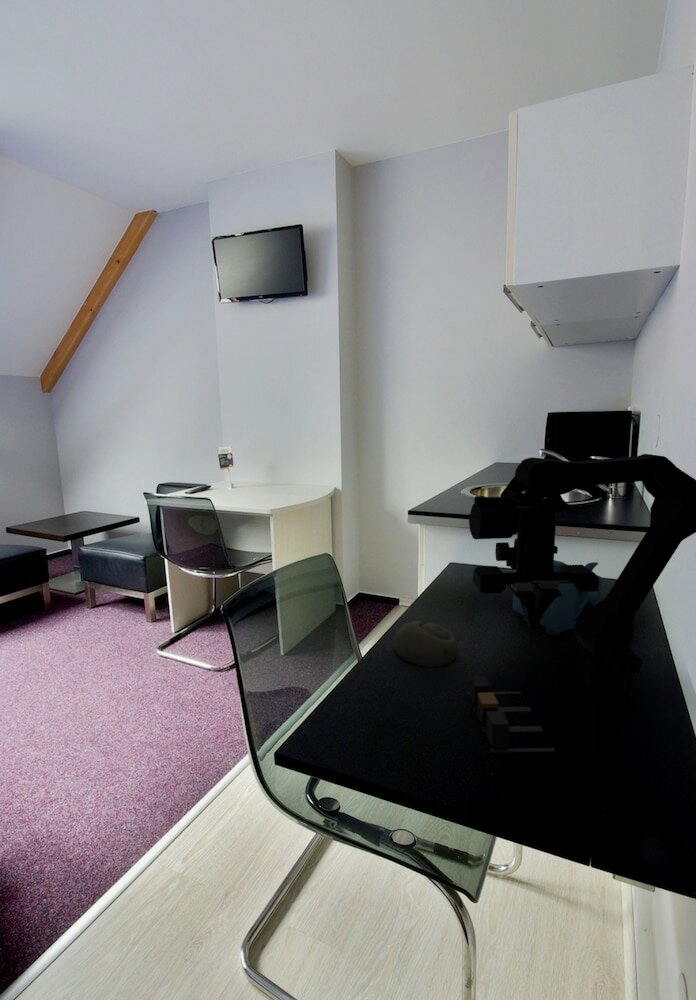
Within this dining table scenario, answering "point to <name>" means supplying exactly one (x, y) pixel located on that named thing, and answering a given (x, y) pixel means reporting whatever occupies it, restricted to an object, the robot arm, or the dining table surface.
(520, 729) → the panel
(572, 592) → the teakettle
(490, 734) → the handle
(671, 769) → the dining table surface
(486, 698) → the handle
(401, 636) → the seashell
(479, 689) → the handle
